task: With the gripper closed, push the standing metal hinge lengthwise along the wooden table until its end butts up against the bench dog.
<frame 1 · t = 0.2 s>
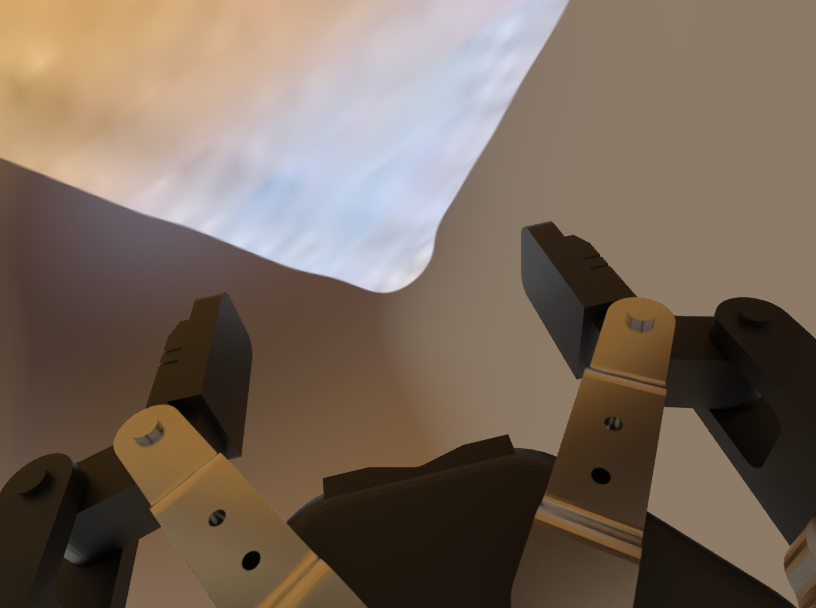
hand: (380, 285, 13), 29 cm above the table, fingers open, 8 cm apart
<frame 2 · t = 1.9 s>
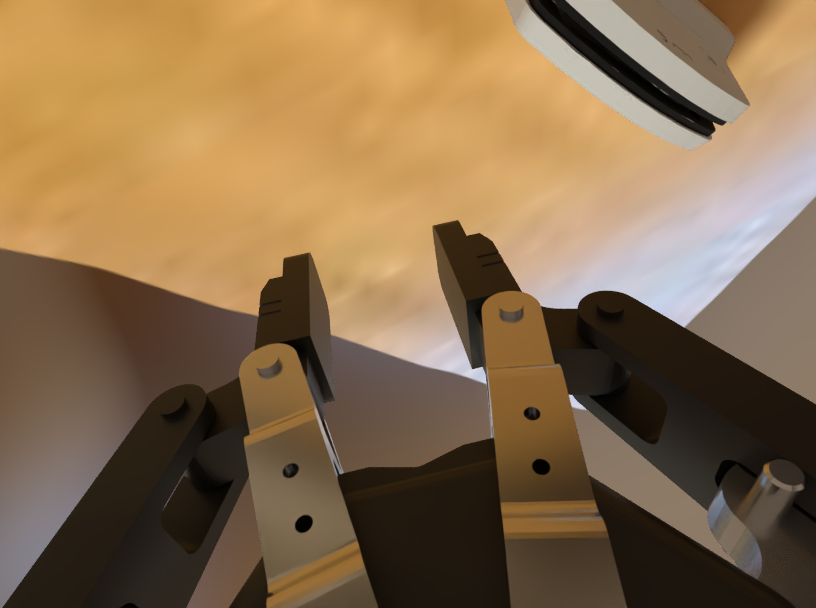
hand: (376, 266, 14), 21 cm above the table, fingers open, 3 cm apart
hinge: (600, 19, 31), on the table
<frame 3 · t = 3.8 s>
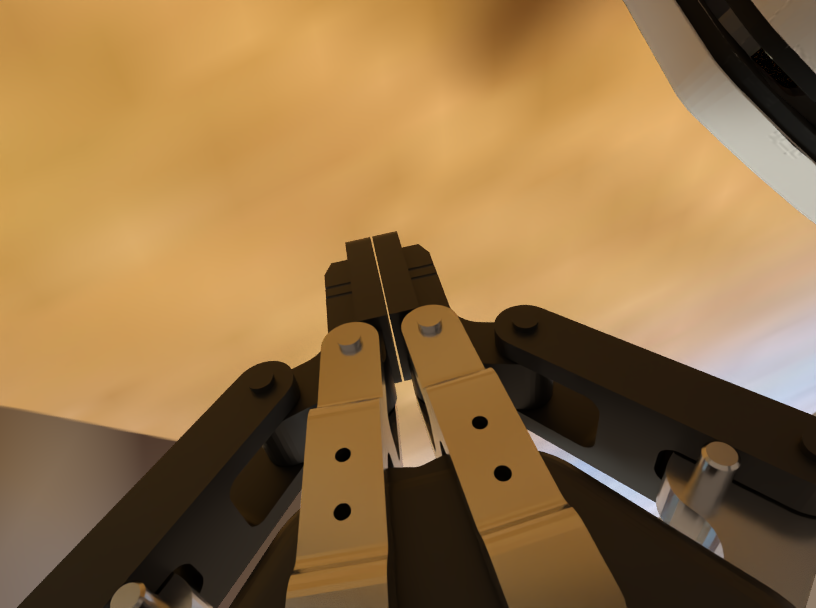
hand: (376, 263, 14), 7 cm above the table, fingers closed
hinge: (760, 62, 20), on the table
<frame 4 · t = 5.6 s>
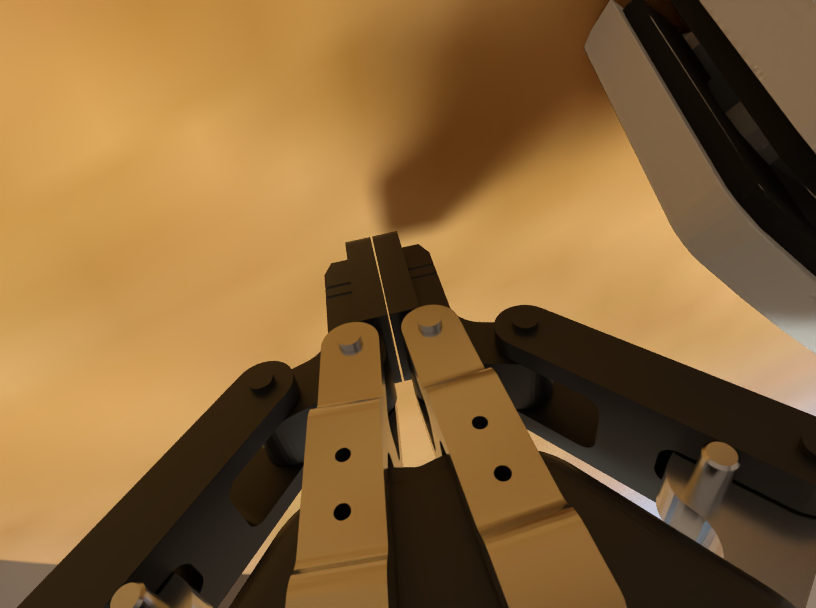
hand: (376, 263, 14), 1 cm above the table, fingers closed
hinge: (776, 138, 16), on the table
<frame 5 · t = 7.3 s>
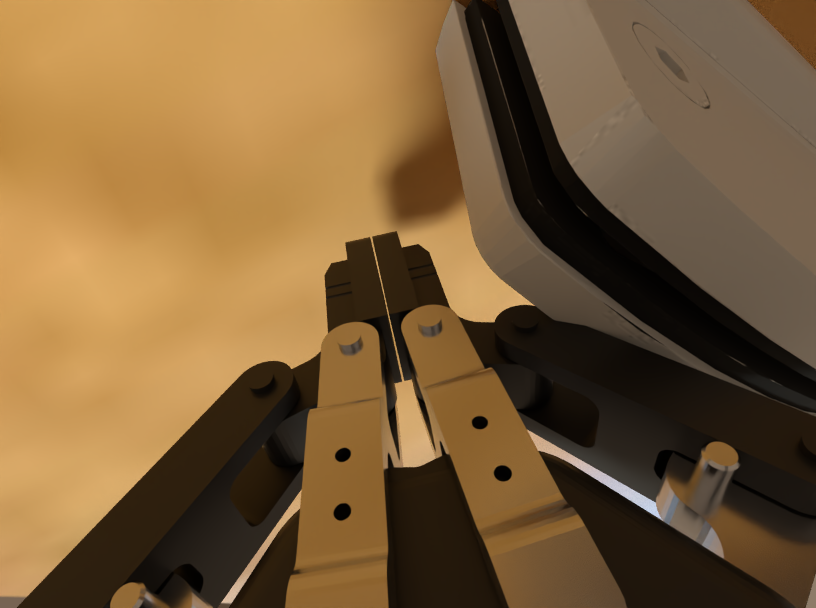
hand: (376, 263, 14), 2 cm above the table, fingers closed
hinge: (661, 145, 16), on the table
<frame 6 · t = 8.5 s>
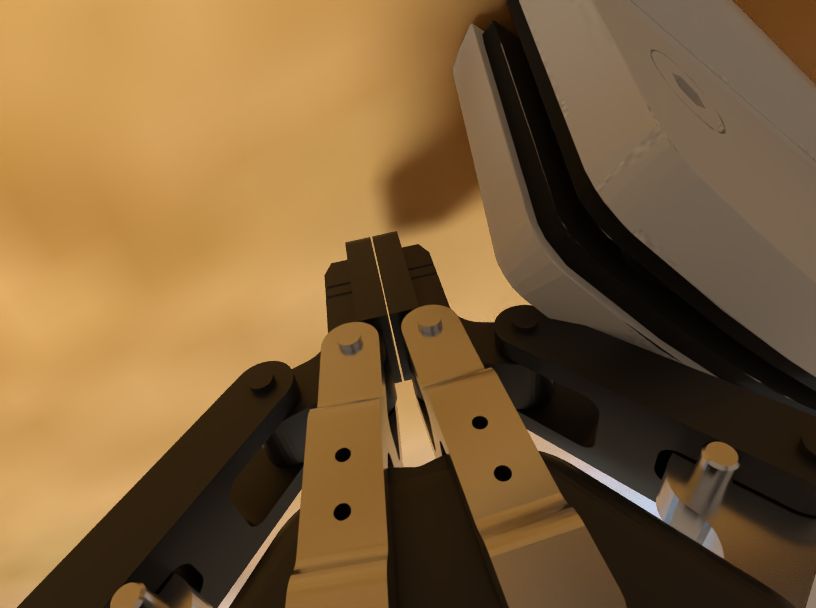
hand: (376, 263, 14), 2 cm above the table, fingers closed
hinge: (669, 161, 16), on the table
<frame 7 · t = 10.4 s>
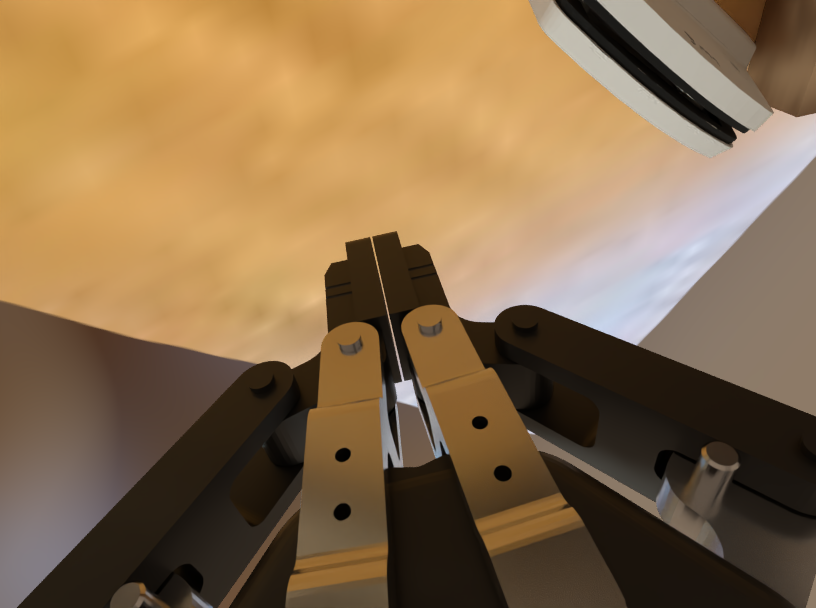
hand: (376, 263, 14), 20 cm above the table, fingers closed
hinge: (620, 22, 31), on the table
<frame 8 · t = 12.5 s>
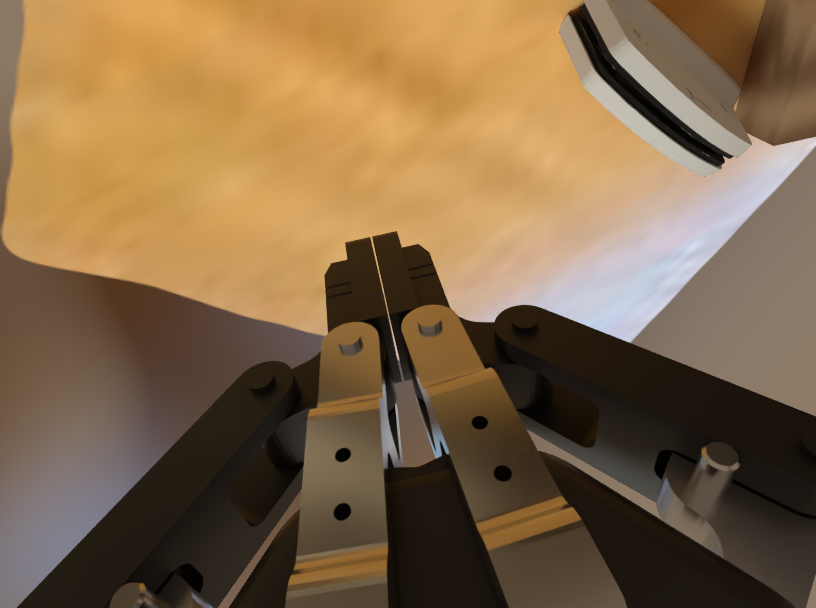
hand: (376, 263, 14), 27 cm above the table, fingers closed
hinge: (637, 71, 40), on the table
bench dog: (775, 48, 40), on the table
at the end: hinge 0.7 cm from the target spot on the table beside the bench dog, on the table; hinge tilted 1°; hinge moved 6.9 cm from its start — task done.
